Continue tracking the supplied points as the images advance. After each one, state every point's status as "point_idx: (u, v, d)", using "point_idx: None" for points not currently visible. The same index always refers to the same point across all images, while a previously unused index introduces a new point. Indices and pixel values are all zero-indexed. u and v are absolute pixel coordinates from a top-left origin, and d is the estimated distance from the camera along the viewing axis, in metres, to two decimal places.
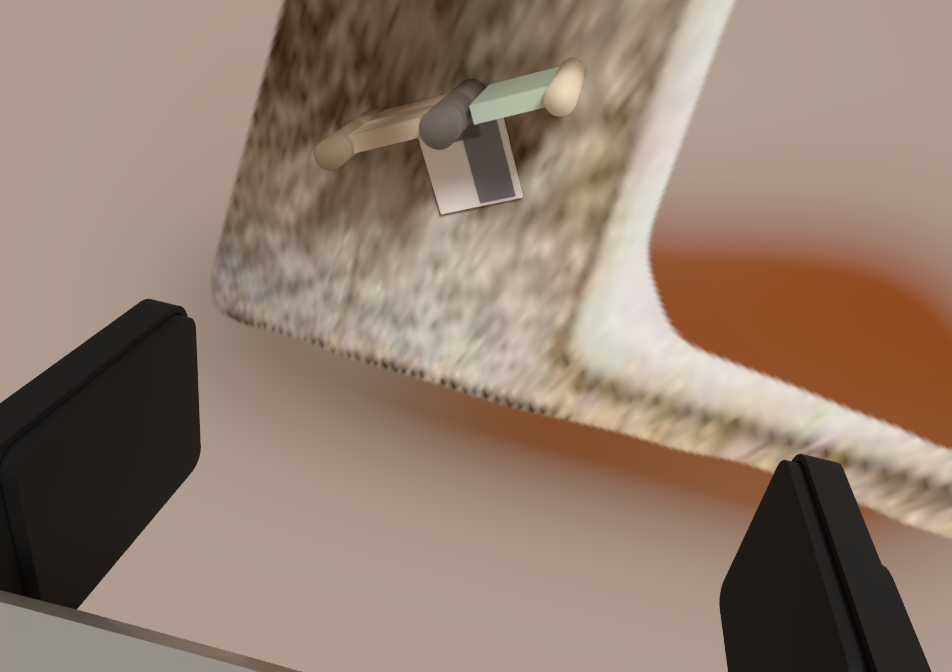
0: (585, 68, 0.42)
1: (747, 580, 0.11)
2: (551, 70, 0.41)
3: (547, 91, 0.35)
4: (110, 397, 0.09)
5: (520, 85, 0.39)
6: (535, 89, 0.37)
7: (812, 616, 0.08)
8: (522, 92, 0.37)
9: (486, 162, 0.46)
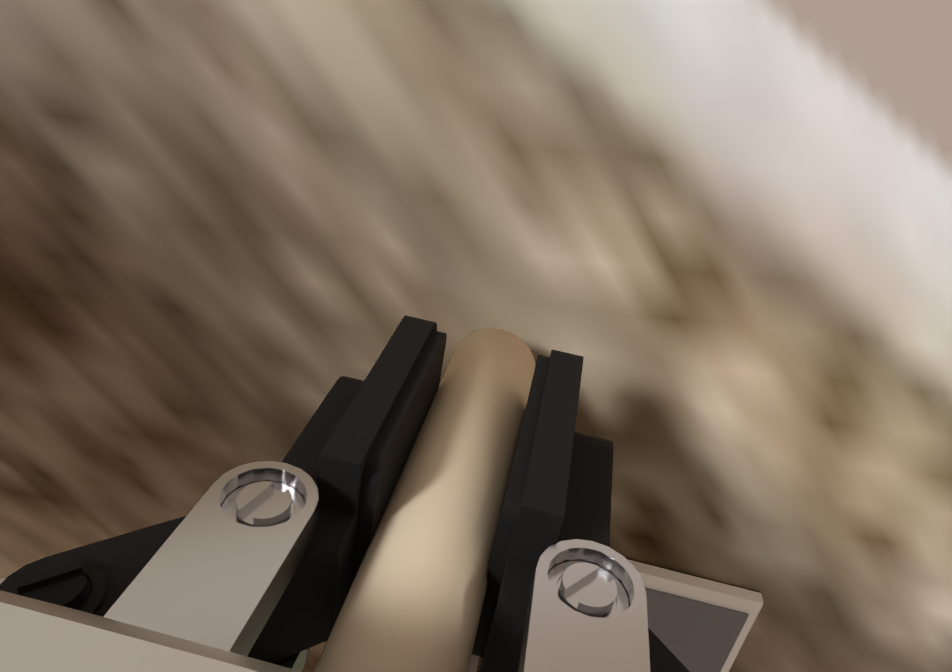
0: (495, 334, 0.13)
1: None
2: None
3: None
4: (413, 409, 0.10)
5: None
6: None
7: None
8: None
9: None
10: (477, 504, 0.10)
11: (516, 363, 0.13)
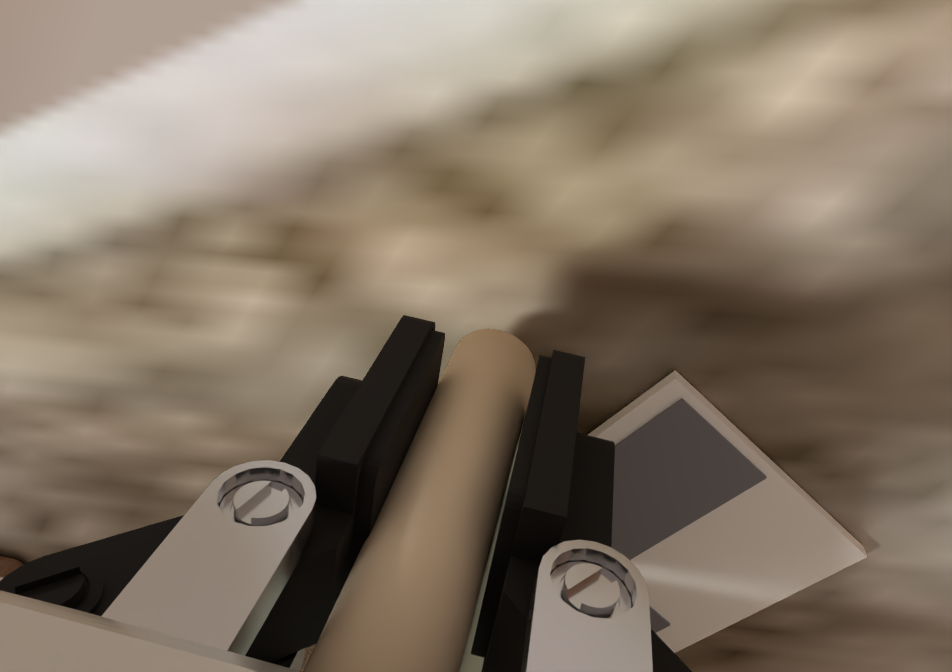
0: (487, 334, 0.13)
1: None
2: None
3: None
4: (411, 408, 0.10)
5: None
6: None
7: None
8: None
9: (630, 504, 0.15)
10: (462, 504, 0.09)
11: (509, 360, 0.13)
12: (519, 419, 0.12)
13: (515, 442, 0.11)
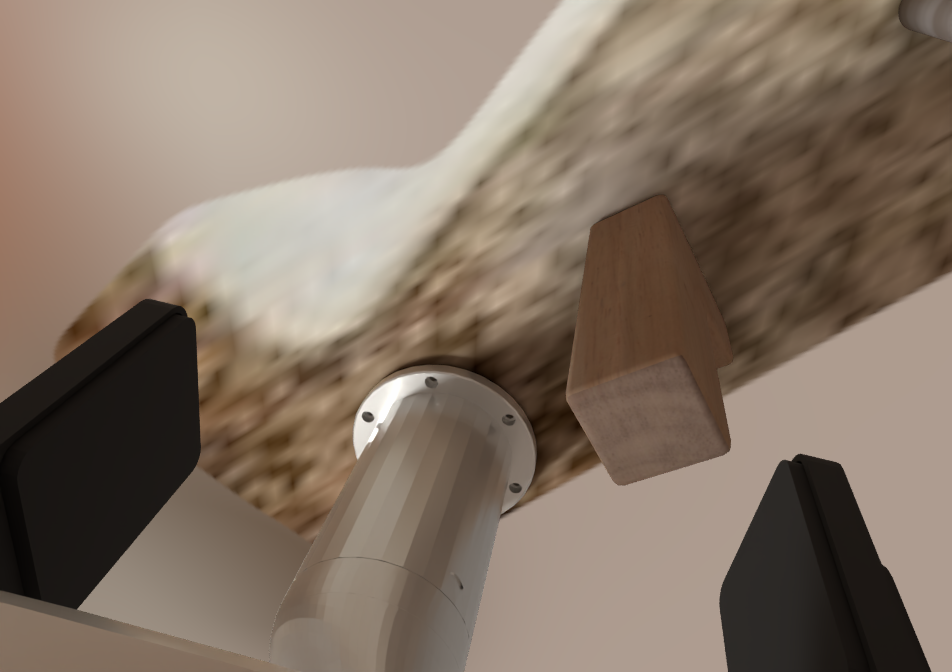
0: None
1: (747, 580, 0.11)
2: None
3: None
4: (110, 397, 0.09)
5: None
6: None
7: (812, 616, 0.08)
8: None
9: None
10: None
11: None
12: None
13: None
